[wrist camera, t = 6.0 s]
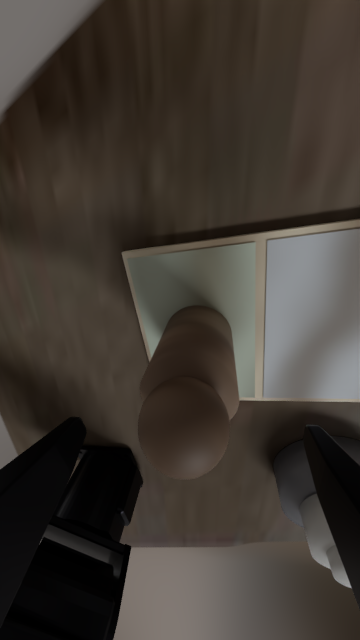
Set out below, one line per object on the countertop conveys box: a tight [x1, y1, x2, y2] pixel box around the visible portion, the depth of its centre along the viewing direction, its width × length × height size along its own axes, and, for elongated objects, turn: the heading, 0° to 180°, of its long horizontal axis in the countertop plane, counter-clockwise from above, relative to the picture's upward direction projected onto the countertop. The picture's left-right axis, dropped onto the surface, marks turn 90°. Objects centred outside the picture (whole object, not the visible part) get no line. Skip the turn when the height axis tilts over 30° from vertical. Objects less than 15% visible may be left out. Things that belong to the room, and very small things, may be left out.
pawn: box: [138, 305, 239, 480], centre depth 11 cm, size 4×4×9 cm
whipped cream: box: [299, 494, 352, 588], centre depth 15 cm, size 6×6×3 cm
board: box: [121, 218, 360, 402], centre depth 13 cm, size 24×12×1 cm, turn 98°
